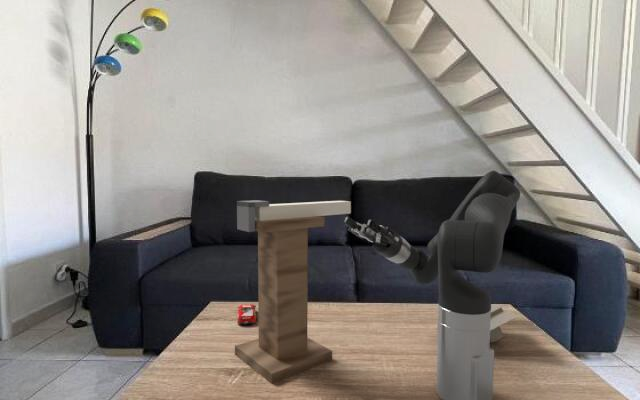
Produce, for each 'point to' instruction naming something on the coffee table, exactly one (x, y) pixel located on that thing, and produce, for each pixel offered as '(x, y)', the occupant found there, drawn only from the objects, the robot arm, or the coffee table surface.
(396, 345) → the coffee table surface
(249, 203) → the white bar
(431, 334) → the coffee table surface
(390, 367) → the coffee table surface
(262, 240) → the wooden pedestal post
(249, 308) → the race car
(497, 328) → the grey slanted stand
